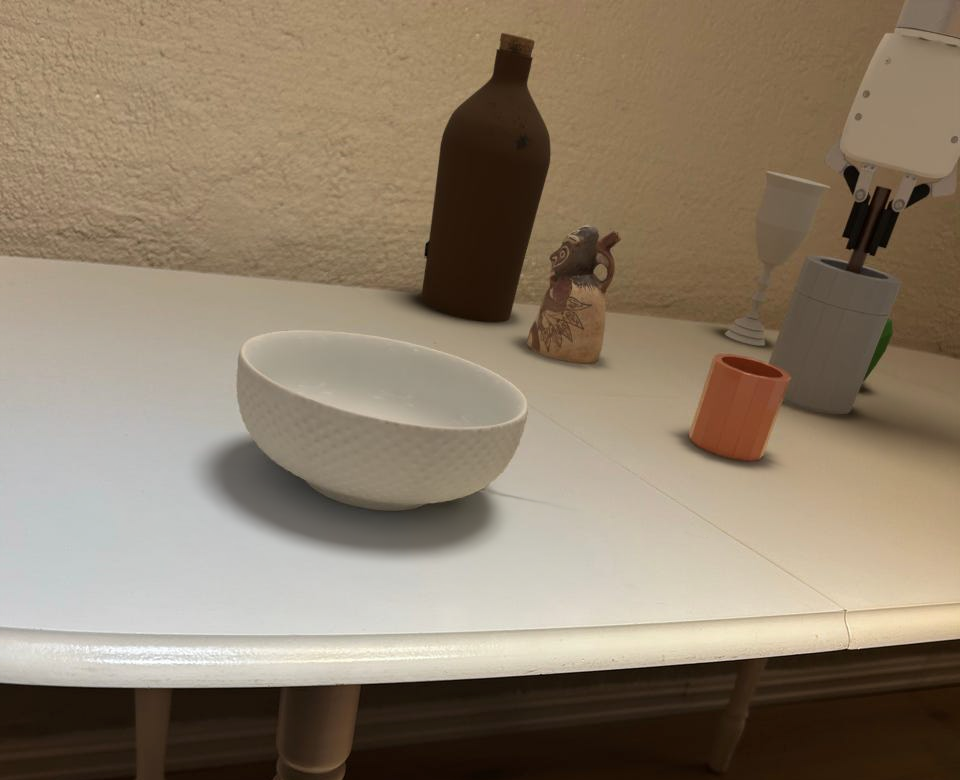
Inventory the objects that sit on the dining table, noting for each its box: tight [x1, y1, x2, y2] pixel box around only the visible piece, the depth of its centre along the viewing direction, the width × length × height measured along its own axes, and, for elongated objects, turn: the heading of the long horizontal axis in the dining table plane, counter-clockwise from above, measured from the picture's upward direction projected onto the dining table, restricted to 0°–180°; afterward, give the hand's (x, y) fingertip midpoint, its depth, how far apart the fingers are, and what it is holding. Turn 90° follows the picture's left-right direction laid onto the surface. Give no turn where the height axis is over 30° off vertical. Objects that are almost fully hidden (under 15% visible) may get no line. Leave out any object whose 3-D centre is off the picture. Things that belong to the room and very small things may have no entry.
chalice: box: [724, 170, 831, 347], centre depth 119 cm, size 7×7×18 cm
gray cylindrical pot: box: [767, 254, 903, 415], centre depth 101 cm, size 9×9×13 cm
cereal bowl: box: [236, 329, 529, 512], centre depth 62 cm, size 17×17×7 cm
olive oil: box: [420, 32, 552, 323], centre depth 102 cm, size 11×11×25 cm
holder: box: [688, 353, 791, 462], centre depth 82 cm, size 6×6×7 cm
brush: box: [845, 185, 893, 274], centre depth 98 cm, size 3×3×17 cm
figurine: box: [526, 224, 622, 364], centre depth 97 cm, size 7×7×12 cm
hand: (861, 250), depth 97 cm, fingers closed on brush, 1 cm apart
